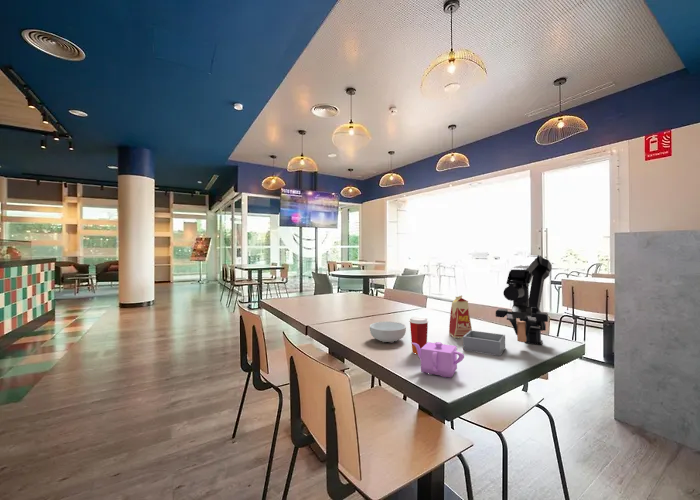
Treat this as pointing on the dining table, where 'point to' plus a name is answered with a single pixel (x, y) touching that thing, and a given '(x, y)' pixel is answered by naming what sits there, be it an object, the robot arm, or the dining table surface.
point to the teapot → (439, 358)
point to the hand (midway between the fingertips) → (521, 335)
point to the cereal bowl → (387, 331)
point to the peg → (521, 331)
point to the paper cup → (418, 331)
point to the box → (484, 342)
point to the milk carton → (459, 318)
